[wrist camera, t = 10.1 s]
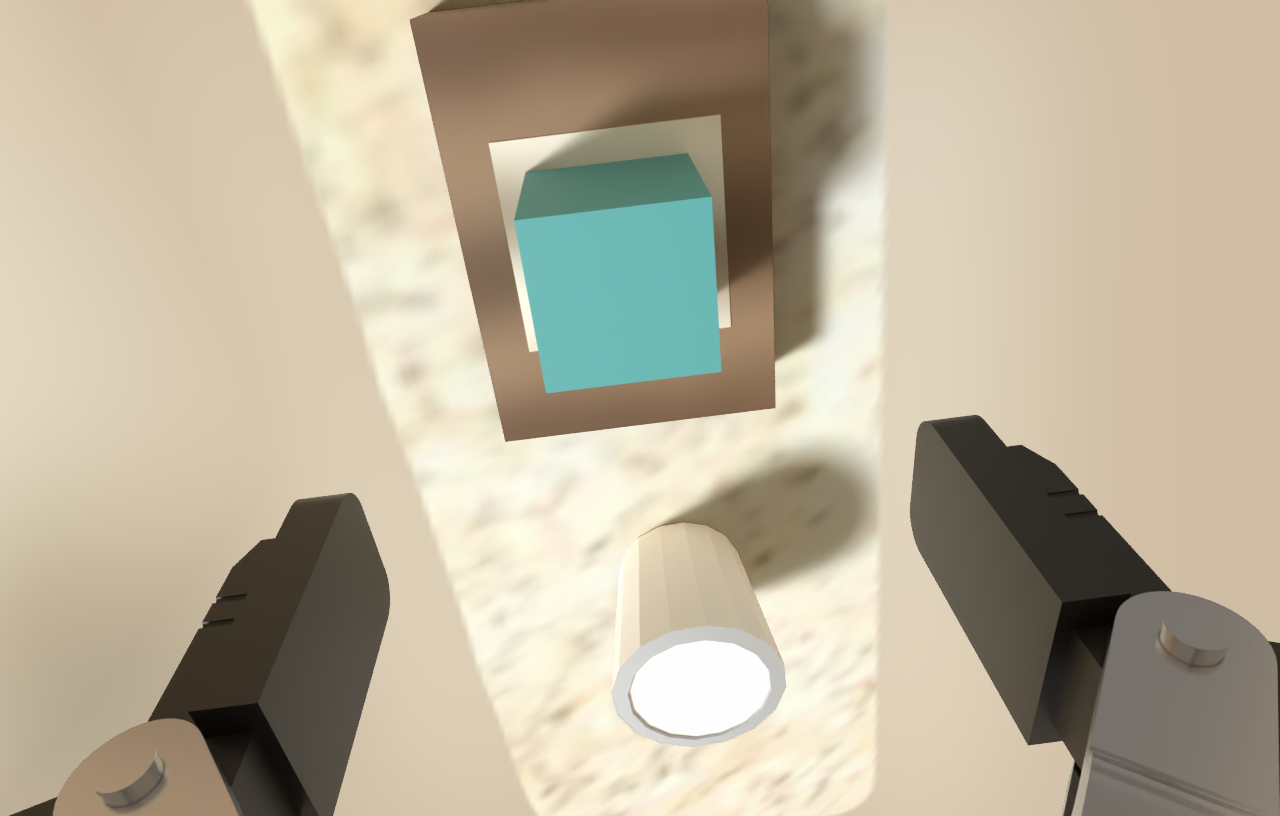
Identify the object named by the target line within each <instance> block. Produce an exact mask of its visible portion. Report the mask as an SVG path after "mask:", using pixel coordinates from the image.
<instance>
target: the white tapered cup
mask: <svg viewBox="0 0 1280 816" xmlns="http://www.w3.org/2000/svg"><path fill="white" fill-rule="evenodd" d="M785 688H786V681H785V670H784V663H783V660H782V658H781V656H780V653H779V651H778V648H777V646H776V643H775V641H774V639H773V636H772V634H771V631H770V629H769V627H768V624H767V622H766V619H765V617H764V615H763V612H762V610H761V607H760V605H759V603H758V600H757V598H756V595H755V593H754V591H753V588H752V586H751V583H750V581H749V579H748V576H747V574H746V571H745V569H744V567H743V564H742V562H741V559H740V557H739V555H738V552H737V550H736V549H735V548H734V546H733V545H732V544H731V542H730V541H729V540H728V538H727V537H726V536H725V535H723V534H722V533H720V532H718V531H716V530H714V529H712V528H711V527H709V526H707V525H700V524H693V523H686V522H681V523H675V524H670V525H664V526H659V527H657V528H655V529H653V530H651V531H649V532H648V533H646V534H644V535H642V536H640V537H638V538H637V540H636V541H635V542H634V543H633V544H632V545H631V546H630V547H629V549H628V550H627V551H626V552H625V553H624V556H623V560H622V563H621V567H620V570H619V582H618V598H617V614H616V630H615V645H614V661H613V677H612V696H613V700H614V704H615V707H616V711H617V715H618V716H619V717H620V718H621V719H622V720H623V721H624V722H625V723H626V724H627V725H628V726H629V727H630V728H631V729H632V730H633V731H634V732H635V733H637V734H639V735H642V736H644V737H646V738H649V739H651V740H654V741H656V742H658V743H661V744H667V745H678V746H689V747H696V746H702V745H708V744H714V743H720V742H726V741H728V740H730V739H732V738H735V737H737V736H739V735H741V734H744V733H746V732H748V731H750V730H752V729H754V728H756V727H757V726H758V725H759V724H760V723H761V722H762V721H763V720H764V719H766V718H767V717H768V716H769V715H770V714H771V713H772V712H773V711H775V710H776V707H777V705H778V703H779V701H780V699H781V697H782V695H783V692H784V690H785Z"/></svg>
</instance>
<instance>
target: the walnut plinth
mask: <svg viewBox="0 0 1280 816" xmlns="http://www.w3.org/2000/svg"><path fill="white" fill-rule="evenodd" d="M410 24H411V28H412V33H413V37H414V41H415V46H416V50H417V55H418V59H419V63H420V68H421V72H422V77H423V81H424V85H425V90H426V94H427V99H428V103H429V107H430V112H431V116H432V121H433V125H434V129H435V134H436V138H437V143H438V147H439V151H440V156H441V160H442V165H443V169H444V173H445V178H446V182H447V187H448V191H449V195H450V200H451V204H452V209H453V213H454V217H455V222H456V226H457V231H458V235H459V239H460V244H461V248H462V253H463V257H464V261H465V266H466V270H467V275H468V279H469V283H470V288H471V292H472V296H473V301H474V305H475V310H476V314H477V318H478V323H479V327H480V332H481V336H482V340H483V345H484V349H485V354H486V358H487V362H488V367H489V371H490V376H491V380H492V384H493V389H494V393H495V398H496V402H497V406H498V411H499V415H500V420H501V424H502V428H503V433H504V437H505V442H507V441H515V440H523V439H531V438H539V437H547V436H555V435H563V434H571V433H579V432H587V431H595V430H603V429H611V428H619V427H627V426H635V425H643V424H651V423H659V422H667V421H675V420H683V419H691V418H699V417H707V416H715V415H723V414H731V413H739V412H747V411H755V410H763V409H771V408H775V357H774V305H773V253H772V201H771V149H770V98H769V46H768V0H527V1H519V2H511V3H502V4H494V5H486V6H478V7H469V8H461V9H453V10H445V11H436V12H428V13H425V14H423V15H420V16H418V17H415V18H412V19H410ZM683 153H688V154H689V156H690V158H691V160H692V162H693V163H694V165H695V167H696V169H697V171H698V173H699V174H700V176H701V178H702V180H703V182H704V183H705V185H706V187H707V189H708V191H709V193H710V194H711V196H712V210H713V228H714V246H715V264H716V282H717V300H718V318H719V337H720V355H721V372H717V373H709V374H701V375H692V376H684V377H676V378H668V379H660V380H652V381H643V382H635V383H627V384H619V385H611V386H603V387H594V388H586V389H578V390H570V391H562V392H554V393H546V390H545V385H544V379H543V374H542V369H541V363H540V358H539V353H538V347H537V342H536V336H535V331H534V326H533V320H532V315H531V310H530V304H529V299H528V293H527V288H526V283H525V277H524V272H523V267H522V261H521V256H520V251H519V245H518V240H517V234H516V229H515V224H514V218H515V214H516V210H517V205H518V201H519V197H520V193H521V189H522V185H523V180H524V176H525V172H533V171H541V170H550V169H558V168H566V167H575V166H583V165H591V164H600V163H608V162H616V161H625V160H633V159H641V158H650V157H658V156H666V155H675V154H683Z"/></svg>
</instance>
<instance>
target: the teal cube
mask: <svg viewBox="0 0 1280 816" xmlns="http://www.w3.org/2000/svg"><path fill="white" fill-rule="evenodd" d="M514 224H515V229H516V234H517V240H518V245H519V251H520V256H521V261H522V267H523V272H524V277H525V283H526V288H527V293H528V299H529V304H530V310H531V315H532V320H533V326H534V331H535V336H536V342H537V347H538V353H539V358H540V363H541V369H542V374H543V379H544V385H545V390H546V393H554V392H562V391H570V390H578V389H586V388H594V387H603V386H611V385H619V384H627V383H635V382H643V381H652V380H660V379H668V378H676V377H684V376H692V375H701V374H709V373H717V372H721V355H720V337H719V318H718V300H717V282H716V264H715V246H714V228H713V210H712V196H711V194H710V193H709V191H708V189H707V187H706V185H705V183H704V182H703V180H702V178H701V176H700V174H699V173H698V171H697V169H696V167H695V165H694V163H693V162H692V160H691V158H690V156H689V154H688V153H683V154H675V155H666V156H658V157H650V158H641V159H633V160H625V161H616V162H608V163H600V164H591V165H583V166H575V167H566V168H558V169H550V170H541V171H533V172H525V176H524V180H523V185H522V189H521V193H520V197H519V201H518V205H517V210H516V214H515V218H514Z"/></svg>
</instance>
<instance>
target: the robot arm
mask: <svg viewBox="0 0 1280 816" xmlns="http://www.w3.org/2000/svg"><path fill="white" fill-rule="evenodd" d="M913 471H914V472H913V481H912V493H911V503H910V518H911V526H912V531H913V535H914V539H915V542H916V545H917V547H918V549H919V551H920V553H921V555H922V557H923V559H924V561H925V562H926V564H927V566H928V568H929V569H930V571H931V573H932V575H933V576H934V578H935V580H936V582H937V583H938V585H939V587H940V589H941V591H942V593H943V594H944V596H945V598H946V600H947V601H948V603H949V605H950V607H951V608H952V610H953V612H954V614H955V616H956V618H957V619H958V621H959V623H960V625H961V626H962V628H963V630H964V632H965V633H966V635H967V637H968V639H969V641H970V642H971V644H972V646H973V648H974V649H975V651H976V653H977V654H978V657H979V658H980V660H981V662H982V664H983V666H984V667H985V669H986V671H987V673H988V674H989V676H990V678H991V680H992V682H993V683H994V685H995V687H996V689H997V690H998V692H999V694H1000V696H1001V698H1002V699H1003V701H1004V703H1005V705H1006V707H1007V708H1008V710H1009V712H1010V714H1011V715H1012V717H1013V719H1014V721H1015V722H1016V724H1017V726H1018V728H1019V730H1020V732H1021V733H1022V735H1023V737H1024V739H1025V740H1026V742H1027V744H1028V745H1034V744H1042V743H1049V742H1057V741H1063V742H1064V743H1065V745H1066V747H1067V749H1068V750H1069V752H1070V754H1071V755H1072V757H1073V758H1074V762H1073V765H1072V769H1071V773H1070V777H1069V781H1068V786H1067V790H1066V795H1065V800H1064V805H1063V809H1062V814H1061V816H1280V643H1276V642H1270V641H1267V639H1266V638H1265V637H1264V636H1263V635H1262V634H1261V632H1260V631H1259V630H1258V629H1257V628H1256V627H1254V626H1253V625H1252V624H1251V623H1249V622H1248V621H1247V620H1246V619H1244V618H1243V617H1241V616H1240V615H1238V614H1237V613H1235V612H1233V611H1231V610H1230V609H1228V608H1226V607H1224V606H1222V605H1219V604H1217V603H1215V602H1212V601H1210V600H1207V599H1204V598H1201V597H1198V596H1194V595H1189V594H1185V593H1179V592H1172V591H1171V590H1170V589H1169V588H1168V587H1167V586H1166V584H1165V583H1164V582H1163V581H1162V580H1161V579H1160V578H1159V577H1158V576H1157V575H1156V574H1155V572H1154V571H1153V570H1152V569H1151V568H1150V567H1149V566H1148V565H1147V564H1146V563H1145V562H1144V560H1143V559H1142V558H1141V557H1140V556H1139V555H1138V554H1137V553H1136V552H1135V551H1134V550H1133V548H1132V547H1131V546H1130V545H1129V544H1128V543H1127V542H1126V541H1125V540H1124V539H1123V538H1122V537H1121V535H1120V534H1119V533H1118V532H1117V531H1116V530H1115V529H1114V528H1113V527H1112V525H1111V524H1110V523H1109V522H1108V521H1107V520H1106V519H1105V518H1104V517H1103V516H1102V515H1101V516H1099V515H1098V513H1097V509H1096V508H1095V507H1094V506H1093V505H1092V504H1091V503H1090V501H1089V500H1088V499H1087V498H1086V497H1085V496H1084V495H1083V494H1082V495H1080V494H1079V492H1078V488H1077V487H1076V486H1075V485H1074V484H1073V483H1072V482H1071V481H1070V480H1069V478H1068V477H1067V476H1066V475H1065V474H1064V473H1063V472H1062V471H1061V470H1060V469H1059V468H1058V467H1057V466H1056V464H1054V463H1052V462H1051V461H1049V460H1047V459H1045V458H1043V457H1042V456H1040V455H1038V454H1036V453H1035V452H1033V451H1031V450H1029V449H1028V448H1026V447H1024V446H1022V445H1017V446H1009V447H1007V446H1006V445H1005V444H1004V443H1003V442H1002V441H1001V440H1000V438H999V437H998V436H997V435H996V433H995V432H994V431H993V430H992V429H991V428H990V426H989V425H988V424H987V423H986V422H985V420H984V419H982V418H981V417H980V416H978V415H971V416H964V417H956V418H948V419H940V420H932V421H924V422H922V423H921V424H920V426H919V428H918V432H917V438H916V450H915V459H914V470H913ZM216 599H217V601H216V603H214V604H212V606H211V608H210V609H209V611H208V613H207V615H206V617H205V618H204V620H203V622H202V623H203V628H202V629H198V631H197V633H196V635H195V637H194V638H193V640H192V642H191V644H190V646H189V648H188V649H187V651H186V653H185V655H184V657H183V659H182V660H181V662H180V664H179V666H178V668H177V669H176V671H175V673H174V675H173V677H172V679H171V680H170V682H169V684H168V686H167V688H166V689H165V691H164V693H163V695H162V697H161V698H160V700H159V702H158V704H157V706H156V708H155V709H154V711H153V713H152V715H151V717H150V719H149V720H148V722H146V723H143V724H140V725H138V726H135V727H133V728H130V729H128V730H126V731H124V732H122V733H120V734H118V735H117V736H115V737H113V738H112V739H110V740H109V741H107V742H105V743H104V744H103V745H101V746H100V747H99V748H97V749H96V750H95V751H94V752H92V753H91V754H90V755H89V756H88V757H87V758H86V759H85V760H84V761H82V763H81V764H80V765H79V766H78V767H77V768H76V769H75V770H74V771H73V773H72V774H71V775H70V777H69V778H68V779H67V781H66V782H65V784H64V785H63V787H62V789H61V791H60V793H59V795H58V797H56V798H54V799H51V800H48V801H46V802H43V803H41V804H38V805H35V806H33V807H31V808H28V809H25V810H23V811H20V812H18V813H15V814H12V815H10V816H333V813H334V810H335V806H336V803H337V799H338V795H339V792H340V788H341V785H342V781H343V777H344V774H345V771H346V767H347V763H348V760H349V756H350V753H351V749H352V745H353V742H354V738H355V734H356V731H357V727H358V724H359V720H360V716H361V713H362V709H363V705H364V702H365V699H366V695H367V691H368V688H369V684H370V681H371V677H372V674H373V669H374V666H375V663H376V659H377V655H378V652H379V648H380V645H381V641H382V638H383V634H384V630H385V626H386V623H387V620H388V615H389V608H390V591H389V583H388V578H387V574H386V571H385V568H384V566H383V563H382V560H381V557H380V555H379V552H378V549H377V546H376V544H375V541H374V538H373V535H372V533H371V530H370V527H369V525H368V522H367V519H366V516H365V514H364V511H363V508H362V506H361V503H360V501H359V500H358V498H357V497H356V496H355V495H354V494H352V493H346V494H339V495H331V496H323V497H315V498H307V499H299V500H297V501H295V502H294V503H293V505H292V506H291V508H290V510H289V512H288V514H287V516H286V518H285V520H284V522H283V524H282V526H281V528H280V530H279V532H278V534H277V536H276V538H274V539H267V540H261V541H260V542H259V543H258V544H257V545H256V546H255V547H254V548H253V549H252V550H250V551H249V552H248V553H247V554H246V555H245V556H244V557H243V558H242V559H241V560H240V561H239V562H238V563H237V564H236V565H235V566H234V567H233V568H232V569H231V571H230V573H229V575H228V577H227V578H226V580H225V582H224V584H223V586H222V587H221V589H220V591H219V593H218V595H217V596H216Z"/></svg>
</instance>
